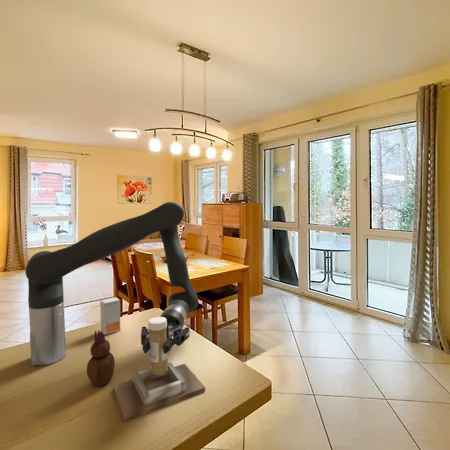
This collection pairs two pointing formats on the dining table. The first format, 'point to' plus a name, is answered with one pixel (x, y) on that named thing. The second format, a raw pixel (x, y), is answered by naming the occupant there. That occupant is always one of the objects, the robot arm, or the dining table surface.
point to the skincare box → (110, 315)
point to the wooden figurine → (100, 361)
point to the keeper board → (156, 390)
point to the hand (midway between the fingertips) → (155, 349)
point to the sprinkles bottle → (158, 345)
